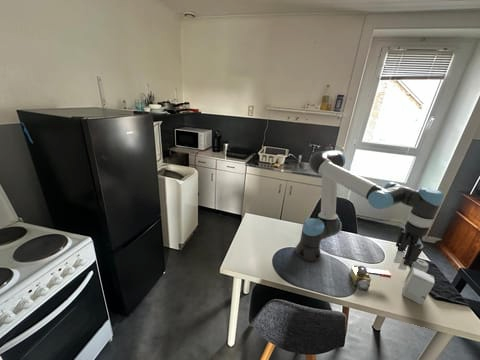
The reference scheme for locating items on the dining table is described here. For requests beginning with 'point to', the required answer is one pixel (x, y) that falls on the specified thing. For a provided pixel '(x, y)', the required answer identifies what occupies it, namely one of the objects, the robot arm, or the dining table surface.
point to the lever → (373, 272)
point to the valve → (360, 279)
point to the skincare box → (418, 286)
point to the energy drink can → (419, 266)
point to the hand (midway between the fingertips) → (399, 265)
